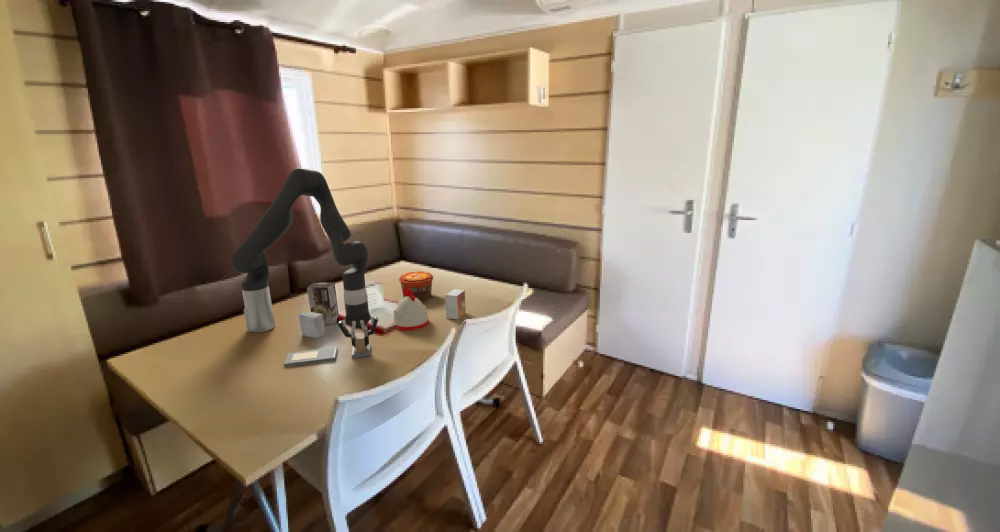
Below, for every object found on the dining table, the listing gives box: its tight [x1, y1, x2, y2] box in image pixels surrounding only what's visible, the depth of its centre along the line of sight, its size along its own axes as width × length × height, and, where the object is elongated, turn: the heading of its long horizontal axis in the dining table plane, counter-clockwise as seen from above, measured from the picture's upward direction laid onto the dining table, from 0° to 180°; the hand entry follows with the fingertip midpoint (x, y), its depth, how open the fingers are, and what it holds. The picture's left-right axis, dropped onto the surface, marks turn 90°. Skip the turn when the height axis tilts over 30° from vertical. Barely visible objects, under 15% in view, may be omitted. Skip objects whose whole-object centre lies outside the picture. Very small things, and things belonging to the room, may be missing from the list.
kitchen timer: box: [393, 288, 429, 331], centre depth 177 cm, size 14×14×15 cm
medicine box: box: [298, 311, 326, 340], centre depth 168 cm, size 8×4×9 cm, turn 65°
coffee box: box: [306, 282, 340, 325], centre depth 180 cm, size 9×6×16 cm
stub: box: [351, 332, 372, 359], centre depth 154 cm, size 6×8×6 cm
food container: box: [398, 270, 434, 302], centre depth 207 cm, size 16×16×11 cm
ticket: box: [283, 346, 338, 368], centre depth 151 cm, size 16×8×1 cm, turn 105°
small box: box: [444, 288, 466, 320], centre depth 185 cm, size 8×6×10 cm
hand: (360, 345), depth 154 cm, fingers closed on stub, 3 cm apart
